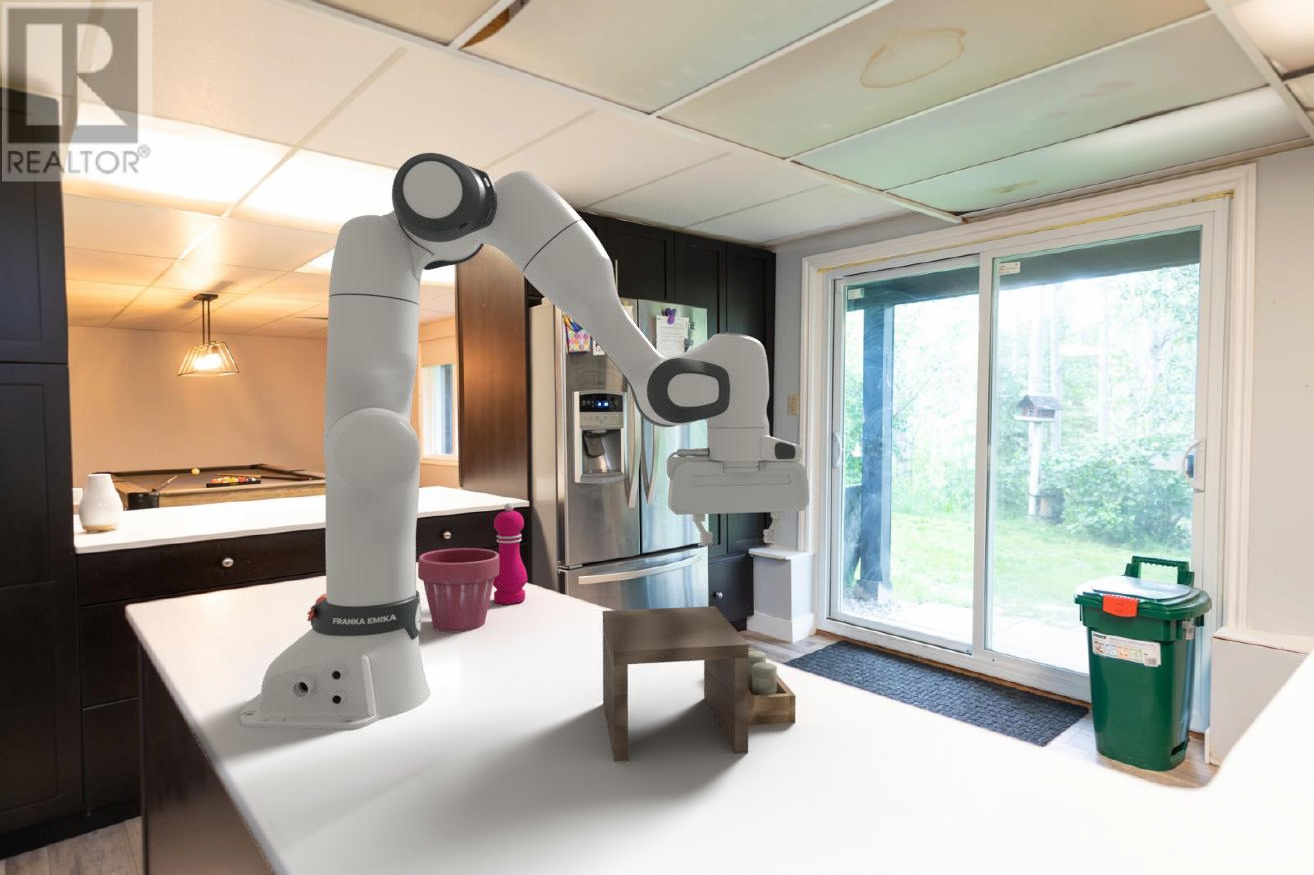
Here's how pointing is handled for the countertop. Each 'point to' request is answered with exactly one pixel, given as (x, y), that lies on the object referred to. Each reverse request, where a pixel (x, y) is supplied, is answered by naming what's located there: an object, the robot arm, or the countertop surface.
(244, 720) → the robot arm
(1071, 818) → the countertop surface
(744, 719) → the brown wooden side table
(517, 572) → the pepper mill
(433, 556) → the plant pot
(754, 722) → the teak tray
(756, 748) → the countertop surface
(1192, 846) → the countertop surface
